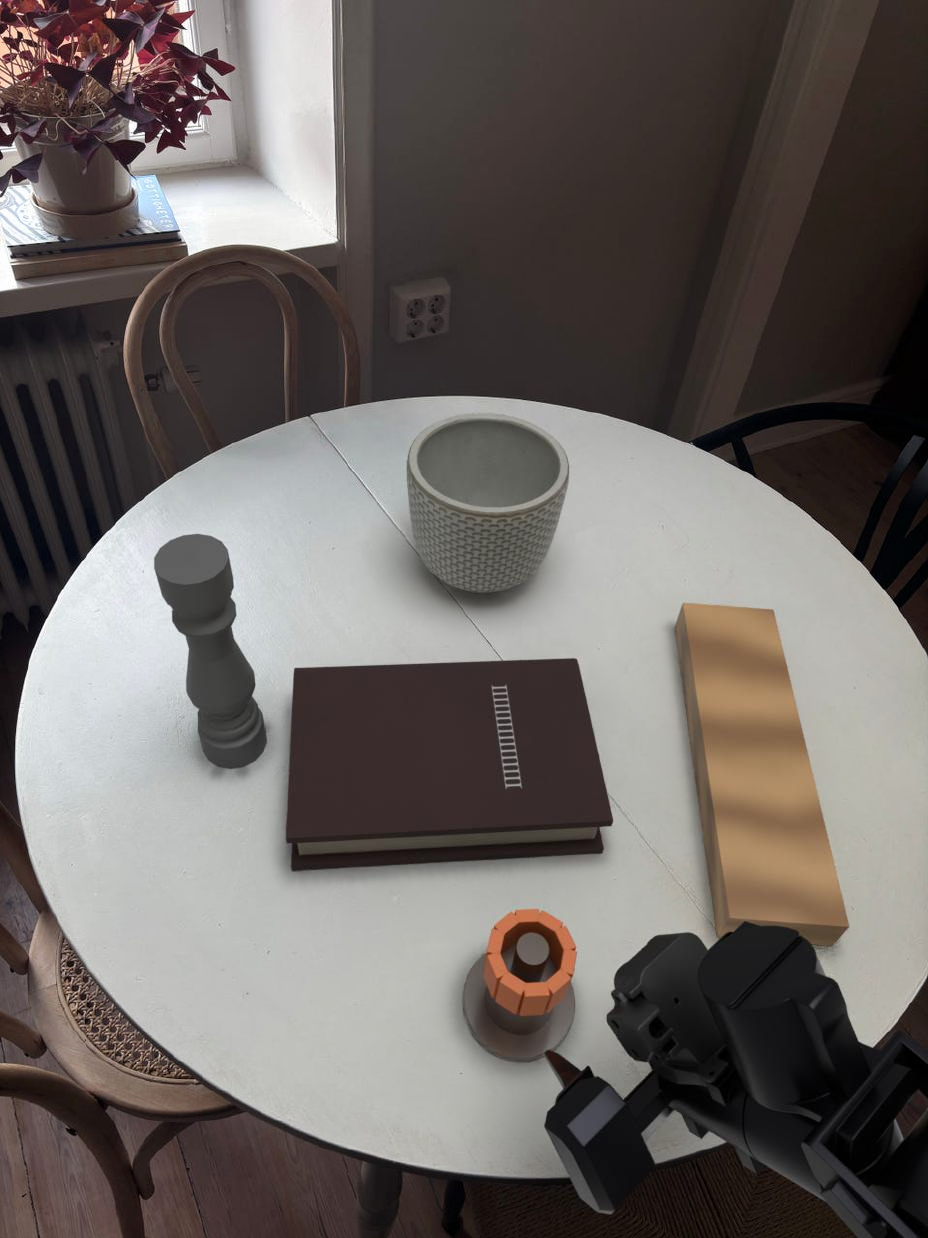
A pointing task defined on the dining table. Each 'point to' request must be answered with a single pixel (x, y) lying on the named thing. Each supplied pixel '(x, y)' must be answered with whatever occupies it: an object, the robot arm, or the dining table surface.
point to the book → (442, 764)
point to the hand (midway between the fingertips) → (597, 1011)
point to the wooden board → (755, 777)
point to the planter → (485, 499)
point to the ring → (510, 987)
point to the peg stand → (516, 1032)
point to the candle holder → (212, 648)
